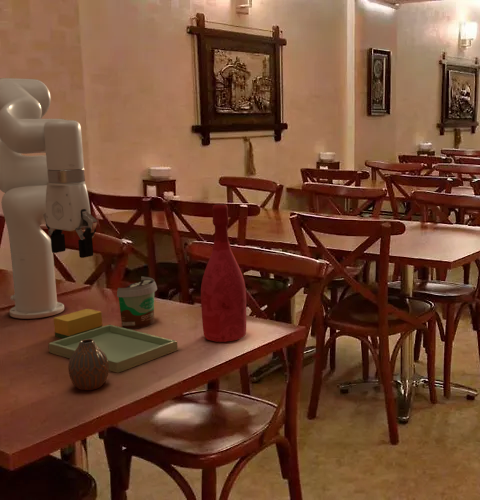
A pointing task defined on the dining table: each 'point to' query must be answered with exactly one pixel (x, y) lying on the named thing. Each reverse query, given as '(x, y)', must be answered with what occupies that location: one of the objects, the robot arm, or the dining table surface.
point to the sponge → (77, 323)
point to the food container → (137, 303)
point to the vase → (88, 366)
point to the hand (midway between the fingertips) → (72, 254)
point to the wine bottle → (223, 287)
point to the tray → (118, 346)
